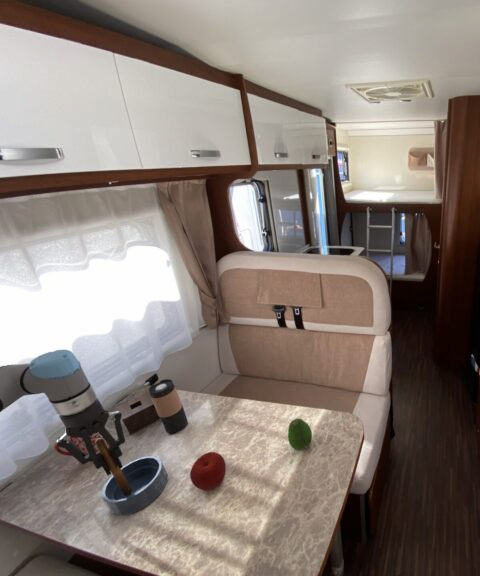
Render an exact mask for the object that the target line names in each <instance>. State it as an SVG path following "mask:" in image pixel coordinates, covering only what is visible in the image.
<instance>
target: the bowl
mask: <svg viewBox="0 0 480 576" xmlns="http://www.w3.org/2000/svg"><path fill="white" fill-rule="evenodd" d="M122 466H123V467H122V468H121V470H122V472H123V474H124V476H125V478H126V479H127V481H128V483H129V485H130V487H131V488H132V494H131V495H129V496H124V494H123V492H122V491H121V489H120V487H119V485H118V484H117V482H116V480H115V478H114V476H113V475H112V474H111V475H110V477H109V478H108V479H107V480H106V482H105V484H104V485H103V487H102V491H101V498H102V500H103V502H104V504H105V505H106V507H107V508H108V511H109V512H110V513H112V514H113V515H115V516H127V515H130V514H131V515H132V514H133V513H136V512H137V511H140V510H142V509H144V508H145V507H146V506H148V505H149V504H151V503H152V502H153V501H154V500H155V499H157V498H158V496H159V495H160V494H161V492H162V491H163V490H164V489H165V487H166V485H167V483H168V479H169V473H168V472H167V470H166V468H165V466H164V464H163V461H162V460H161V458H160V457H158V456H155V455H146V456H142V457H139V458H137V459H136V458H135V459H134V460H131V461H130V462H127V464H124V465H122Z"/></svg>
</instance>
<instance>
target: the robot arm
mask: <svg viewBox="0 0 480 576" xmlns="http://www.w3.org/2000/svg"><path fill="white" fill-rule="evenodd" d="M39 394H44V395H45V396H46V398H48V399H47V400H48V401H49V402H50V404H51V405H52V407H53V409H54V411H55V413H56V414H57V415H58V417H59V419H60V420H61V422H62V424H63V425H64V428H65V430H66V433H65V432H64V434H63V435H61V436H58V437H57V438H56V440H55V443H57V446H58V447H59V448H61V449H65V451H66V452H69V453H70V454H71V455H73V456H72V457H74V459H76V460H77V461H78V462H79V463H80V464H81V465H84V466H85V465H86V464H87V463H91V462H92V464H93V465H94V467H95V468H96V470H99V469H100V468H102V469H103V470H104V472H105V474H106V475H107V476H108V477H109V476H111V475H112V473H111V471H110V469H109V467H108V466H107V464H106V462H105V460H104V458H103V457H102V455H101V453H98V454H96V451H95V449H94V446H93V443H92V441H91V438H90V436H91V435H93V434H95V433H98V432H99V434H100V435H102V437H103V438H104V439H105V440H106V442H107V443H108V444H109V445H110V447H109V450H110V453H111V455H112V456H113V458H114V460H115V462H116V463H117V465H118V467H119V469H121V468H122V467H123V466H124V465H123V463H122V461H121V459H120V457H122V456H123V452H122V450H121V447H120V446H121V445H123V444H125V443H126V439H125V434H124V431H123V425H122V422H121V421H122V418H121V416H122V414H121V412H120V410H119V409H117V408H116V409H115V410H114V411H108V410H106V409H105V408H104V406H103V405H102V403H101V401H100V400H99V398H98V396H97V393H96V391H95V390H94V388H93V386H92V384H91V382H89V379H88V378H87V375H86V373H85V372H84V369H83V367H82V365H81V362H80V361H79V360H78V358H77V357H76V356H75V354H74V352H72V351H71V350H69V349H56V350H54V351H48V352H45V353H42V354H40V355H38V356H36V357H35V358H33V359H32V360H31V361H30V362H29V363H18V364H17V363H15V364H12V363H11V364H6V365H1V366H0V413H1V412H3V411H4V410H5V409H7V408H8V407H10V406H11V405H13V404H14V403H15V402H17V401H18V400H20V399H21V398H22V397H24V396H25V397H26V396H31V395H39ZM109 419H110V420H111V421H113V424H114V428H115V432H116V436H117V439H115V438H114V437H113V435H112V434H111V433H110V432H109V430H108V429H107V427H105V426H106V425H107V422H108V420H109ZM70 436H73V437H79V438H83V440H84V443H85V445H86V448H87V450H88V453H89V455H85V454H84V453H83V452H82V451H81V450H80V449H79V448H78V447H77V446H76V445H75V444H74V443H73V442H72V441H71V438H70Z"/></svg>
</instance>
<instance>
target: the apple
mask: <svg viewBox="0 0 480 576" xmlns="http://www.w3.org/2000/svg"><path fill="white" fill-rule="evenodd" d="M226 466H227V465H226V460H225V458H224V457H223V456H222V454H220V453H218V452H217V451H216V452H215V451H209V452H206V453H204V454H202V455H201V456H200V457H198V458H197V459H196V460H195V461H194V463H193V464H192V466H191V469H190V471H189V478H190V481H191V483H192V485H193V486H194V487H196V489H198V490H201V491H210V490H213V489H215V488H217V487H218V486H219V485H221V484H222V482H223V481H224V479H225V476H226V471H227V468H226Z"/></svg>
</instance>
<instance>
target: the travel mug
mask: <svg viewBox="0 0 480 576" xmlns="http://www.w3.org/2000/svg"><path fill="white" fill-rule="evenodd" d="M147 392H148V393H149V394H150V396H151V399H152V401H153V403H154V406H155V408H156V411H157V413H158V415H159V417H160V422H161V423H162V425H163V427H164V430H165V432H166V433H167V434H169V435H175V434H178V433H180V432H181V431H183V430H185V429H186V427H187V426H188V424H189V421H188V418H187V414H186V411H185V408H184V406H183V403H182V401H181V398H180V395H179V393H178V391H177V388H176V387H175V383H174V381H173V380H172V379H168V378H166V379H162V380H160V381H159V382H156V383H155V384H152V385H150V386H149V388H148V390H147Z"/></svg>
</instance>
